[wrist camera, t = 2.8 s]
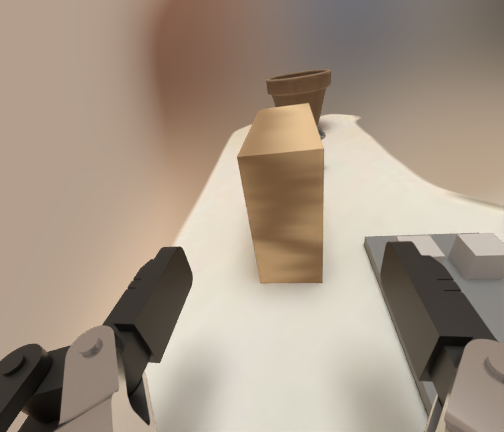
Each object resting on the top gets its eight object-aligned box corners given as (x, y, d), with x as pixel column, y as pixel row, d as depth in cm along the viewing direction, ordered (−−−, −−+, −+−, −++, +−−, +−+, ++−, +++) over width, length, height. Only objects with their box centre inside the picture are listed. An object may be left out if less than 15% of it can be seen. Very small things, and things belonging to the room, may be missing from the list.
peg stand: (475, 241, 19) (488, 210, 18) (811, 595, 7) (956, 596, 5) (364, 244, 21) (367, 216, 19) (475, 541, 8) (511, 529, 7)
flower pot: (286, 122, 57) (283, 72, 51) (337, 122, 51) (339, 65, 45) (261, 139, 49) (253, 81, 44) (316, 141, 43) (316, 75, 38)
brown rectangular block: (310, 199, 28) (308, 103, 22) (322, 283, 18) (323, 148, 13) (270, 201, 29) (259, 109, 23) (260, 283, 19) (237, 157, 13)
